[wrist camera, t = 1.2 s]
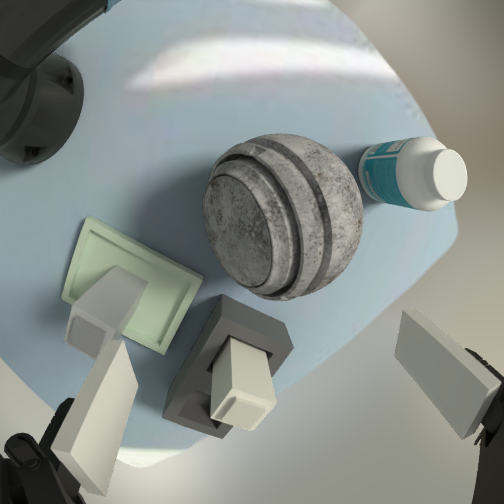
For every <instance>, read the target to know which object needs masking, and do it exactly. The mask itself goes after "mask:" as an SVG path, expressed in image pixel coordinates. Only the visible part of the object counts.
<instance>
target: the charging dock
mask: <svg viewBox="0 0 504 504" xmlns="http://www.w3.org/2000/svg"><path fill="white" fill-rule="evenodd" d="M293 348H294V347H293V344H292V342H291V339H290V336H289V334H288V331H287V329H286V326H285V323H283V322H281V321H279V320H276V319H274V318H272V317H270V316H268V315H266V314H263V313H261V312H259V311H257V310H255V309H253V308H251V307H248V306H246V305H244V304H242V303H240V302H238V301H236V300H234V299H232V298H230V297H228V296H226V295H224V294H222V295H221V297H220V299H219V301H218V302H217V304H216V306H215V308H214V310H213V311H212V313H211V315H210V317H209V318H208V320H207V322H206V324H205V326H204V327H203V329H202V331H201V333H200V334H199V336H198V338H197V340H196V342H195V343H194V345H193V347H192V349H191V351H190V352H189V354H188V356H187V358H186V359H185V361H184V363H183V365H182V367H181V368H180V370H179V372H178V374H177V376H176V377H175V379H174V381H173V383H172V385H171V386H170V388H169V390H168V394H167V398H166V402H165V407H164V411H163V416H162V418H164V419H167V420H169V421H172V422H175V423H177V424H180V425H183V426H185V427H188V428H191V429H194V430H197V431H199V432H202V433H205V434H209V435H212V436H215V437H218V438H221V439H222V438H224V436H225V435H226V434H227V433H228V432H229V431H230V430H231V428H232V427H233V426H236V427H240V428H243V429H247V430H250V431H253V430H254V429H255V428H256V427H257V426H258V424H259V423H260V422H261V421H262V420H263V418H265V416H266V415H267V414H268V413H269V412H270V411H271V409H272V408H273V407H274V406H275V405H276V403H277V401H276V397H275V392H274V388H273V383H272V379H271V378H272V377H273V375H274V374H275V373H276V371H277V370H278V369H279V367H280V366H281V365H282V363H283V362H284V360H285V359H286V358H287V356H288V355H289V354H290V352H291V351H292V349H293Z"/></svg>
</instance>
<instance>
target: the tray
mask: <svg viewBox="0 0 504 504" xmlns="http://www.w3.org/2000/svg"><path fill="white" fill-rule="evenodd" d="M116 265H118V266H120V267H122V268H124V269H125V270H127V271H129V272H131V273H133V274H134V275H136V276H138V277H140V278H142V279H144V280H146V281H148V284H147V286H146V288H145V291H144V293H143V295H142V297H141V300H140V302H139V305H138V307H137V309H136V311H135V313H134V315H133V316H132V318H131V319H130V321H129V323H128V324H127V326H126V328H125V329H124V331H123V332H122V334H123V335H125V336H126V337H128V338H130V339H132V340H134V341H136V342H138V343H140V344H142V345H144V346H146V347H148V348H150V349H152V350H154V351H156V352H158V353H160V354H163V355H165V353H166V351H167V349H168V347H169V345H170V343H171V341H172V339H173V337H174V335H175V333H176V331H177V329H178V327H179V325H180V323H181V321H182V320H183V318H184V316H185V314H186V312H187V310H188V308H189V306H190V304H191V302H192V300H193V298H194V297H195V295H196V293H197V291H198V289H199V287H200V285H201V283H202V281H203V278H204V276H203V275H201V274H199V273H197V272H195V271H193V270H191V269H189V268H187V267H185V266H183V265H181V264H179V263H177V262H175V261H174V260H172V259H170V258H168V257H166V256H164V255H162V254H160V253H158V252H156V251H154V250H153V249H151V248H149V247H147V246H145V245H143V244H141V243H140V242H138V241H136V240H134V239H132V238H130V237H128V236H127V235H125V234H123V233H121V232H119V231H118V230H116V229H114V228H112V227H110V226H109V225H107V224H105V223H103V222H101V221H100V220H98V219H96V218H94V217H93V216H89V217H87V218H86V220H85V222H84V225H83V228H82V231H81V233H80V236H79V239H78V242H77V245H76V248H75V251H74V255H73V258H72V261H71V264H70V268H69V271H68V275H67V278H66V282H65V285H64V289H63V293H62V297H61V299H63V300H64V301H66V302H67V303H69V304H70V305H73V304H74V303H75V302H76V301H77V300H78V299H79V298H80V297H81V296H82V295H83V294H85V293H86V292H87V291H88V290H89V289H90V288H91V287H92V286H93V285H94V284H96V283H97V282H98V281H99V280H100V279H101V278H102V277H103V276H105V275H106V274H107V273H108V272H109V271H110V270H111V269H113V268H114V267H115V266H116Z"/></svg>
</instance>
